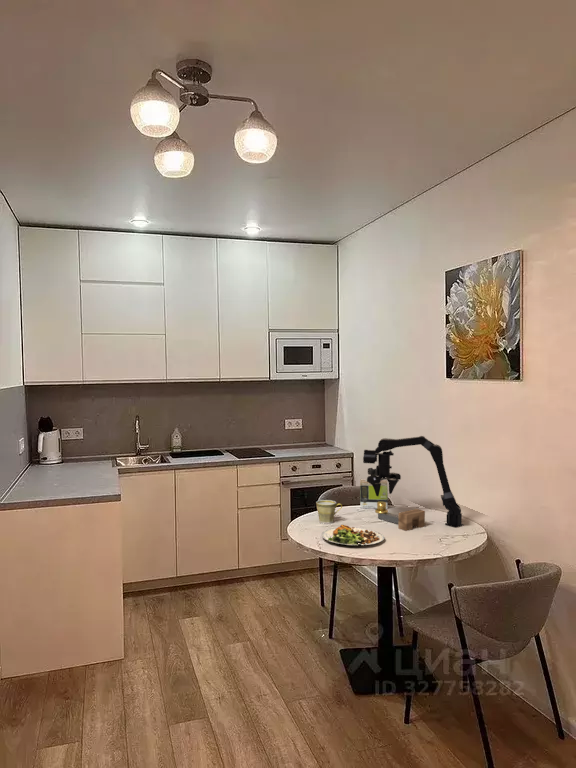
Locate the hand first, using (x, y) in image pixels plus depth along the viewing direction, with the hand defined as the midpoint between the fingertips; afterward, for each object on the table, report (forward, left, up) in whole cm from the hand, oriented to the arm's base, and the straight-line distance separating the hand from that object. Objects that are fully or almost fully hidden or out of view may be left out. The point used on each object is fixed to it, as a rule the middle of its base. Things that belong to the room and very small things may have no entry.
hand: (383, 494), depth 285 cm
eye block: (-16, -2, -13) cm, 21 cm away
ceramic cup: (+14, +24, -13) cm, 31 cm away
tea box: (+24, -17, -13) cm, 32 cm away
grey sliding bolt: (-2, -2, -13) cm, 13 cm away
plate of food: (-14, +34, -14) cm, 39 cm away
